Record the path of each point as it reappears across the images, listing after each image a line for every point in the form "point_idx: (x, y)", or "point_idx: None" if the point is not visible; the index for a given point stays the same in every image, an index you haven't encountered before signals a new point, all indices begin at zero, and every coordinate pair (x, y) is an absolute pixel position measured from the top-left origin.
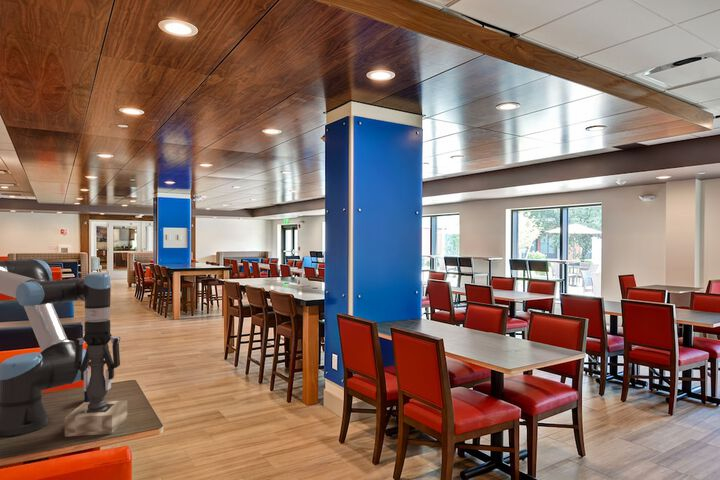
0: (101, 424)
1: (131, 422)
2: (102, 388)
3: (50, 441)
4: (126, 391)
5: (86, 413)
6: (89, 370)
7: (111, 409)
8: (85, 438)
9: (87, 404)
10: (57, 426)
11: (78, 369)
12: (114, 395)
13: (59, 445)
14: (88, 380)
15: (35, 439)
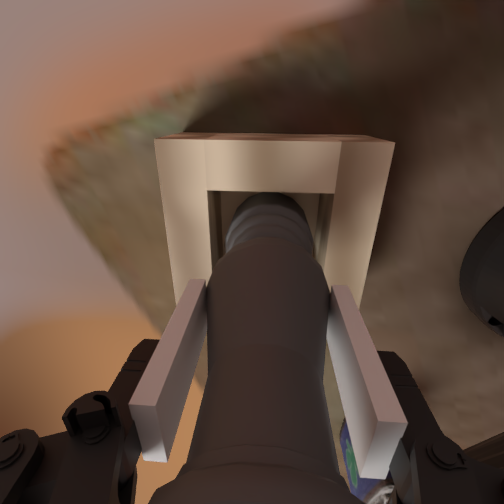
0: (215, 136)
1: (160, 236)
2: (216, 278)
3: (410, 86)
4: None
5: (297, 187)
6: (357, 460)
7: (194, 222)
8: (271, 97)
9: None
10: (417, 245)
11: (489, 466)
12: None
13: (360, 25)
14: (339, 362)
15: (478, 122)
